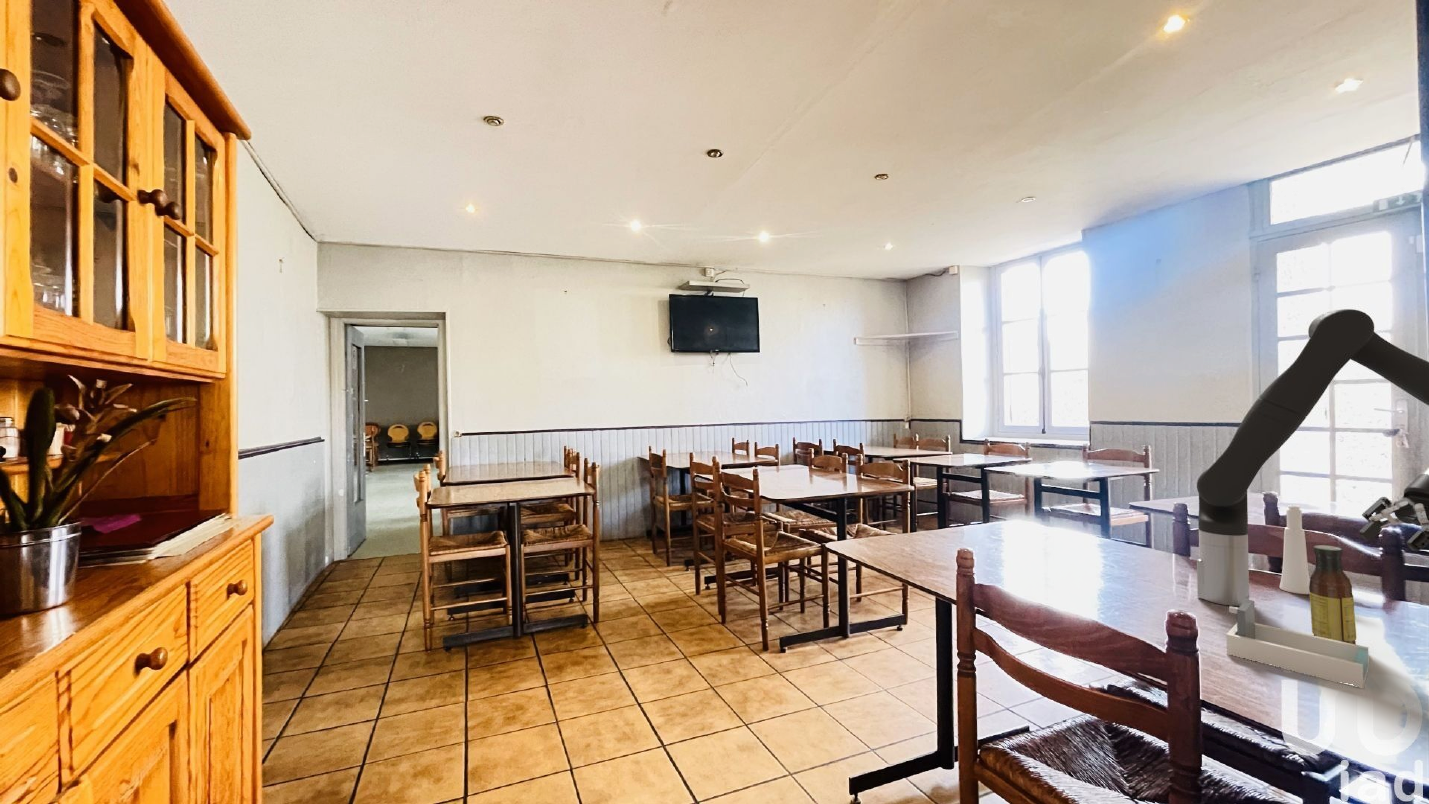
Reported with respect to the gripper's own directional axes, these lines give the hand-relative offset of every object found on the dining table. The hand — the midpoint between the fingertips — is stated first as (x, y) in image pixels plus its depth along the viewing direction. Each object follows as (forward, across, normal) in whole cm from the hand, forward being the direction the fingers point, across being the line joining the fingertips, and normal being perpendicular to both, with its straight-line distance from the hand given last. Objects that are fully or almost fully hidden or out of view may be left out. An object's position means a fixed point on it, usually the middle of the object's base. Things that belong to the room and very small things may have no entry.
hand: (1386, 542), depth 117 cm
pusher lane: (+33, +8, -4) cm, 34 cm away
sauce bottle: (+23, 0, +7) cm, 24 cm away
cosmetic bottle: (+6, -32, +23) cm, 40 cm away
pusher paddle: (+35, +1, -8) cm, 36 cm away
